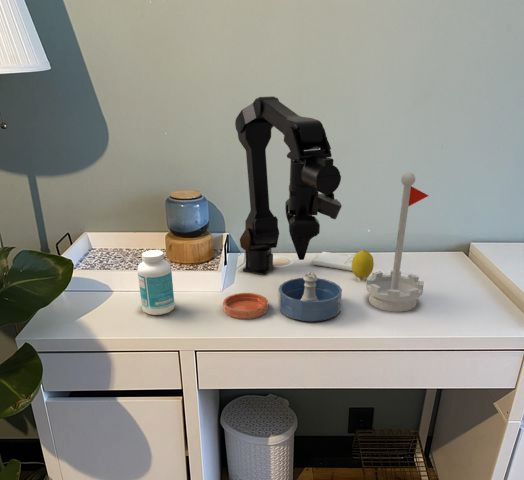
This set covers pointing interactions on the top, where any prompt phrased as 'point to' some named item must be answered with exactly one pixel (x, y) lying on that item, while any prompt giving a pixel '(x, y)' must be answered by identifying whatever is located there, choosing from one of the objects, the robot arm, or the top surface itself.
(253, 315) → the orange round lid
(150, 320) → the top surface
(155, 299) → the pill bottle
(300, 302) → the bowl
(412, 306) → the flag stand
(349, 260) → the hard drive
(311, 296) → the rook chess piece
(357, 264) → the lemon
